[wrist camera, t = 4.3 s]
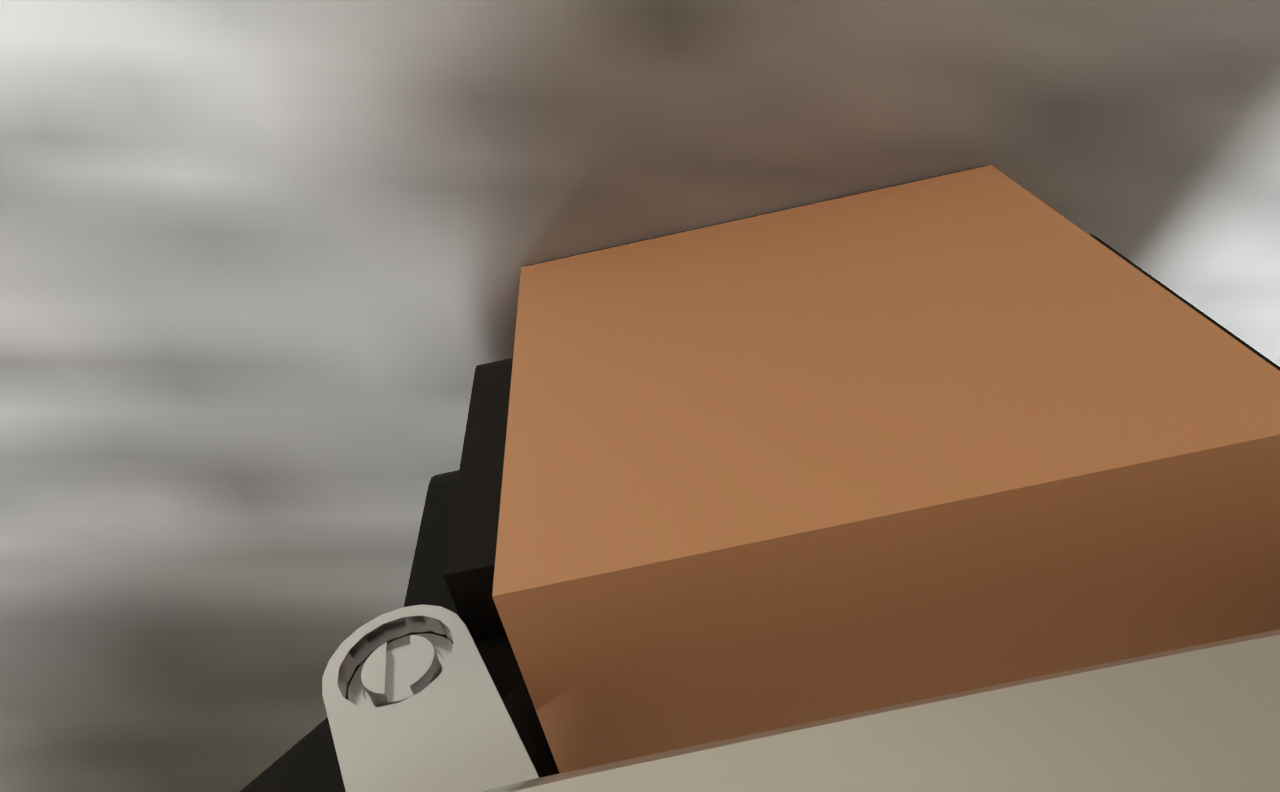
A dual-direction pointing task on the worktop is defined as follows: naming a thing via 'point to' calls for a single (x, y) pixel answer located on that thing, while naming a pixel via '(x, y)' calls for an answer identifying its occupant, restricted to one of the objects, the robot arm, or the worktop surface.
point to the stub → (867, 468)
